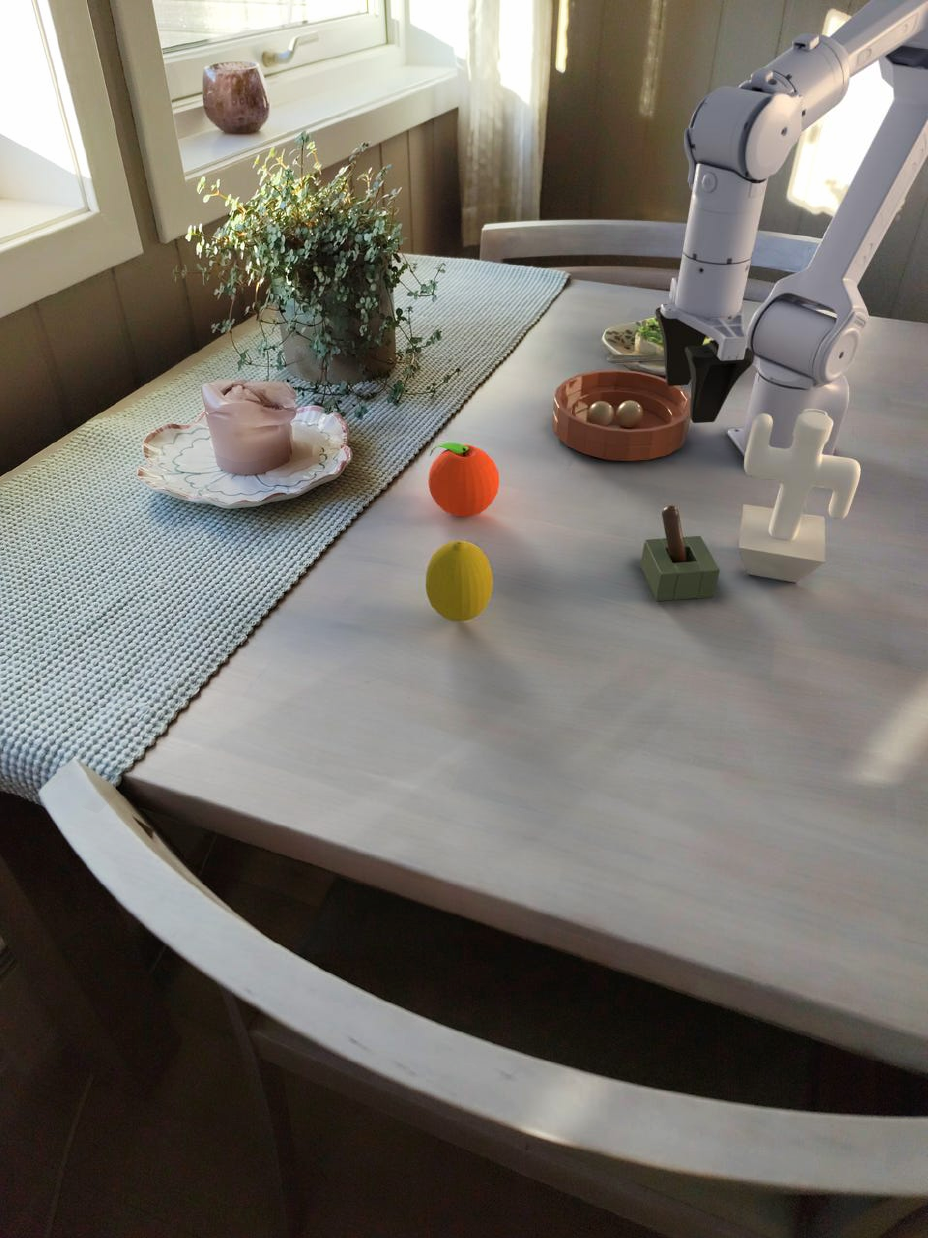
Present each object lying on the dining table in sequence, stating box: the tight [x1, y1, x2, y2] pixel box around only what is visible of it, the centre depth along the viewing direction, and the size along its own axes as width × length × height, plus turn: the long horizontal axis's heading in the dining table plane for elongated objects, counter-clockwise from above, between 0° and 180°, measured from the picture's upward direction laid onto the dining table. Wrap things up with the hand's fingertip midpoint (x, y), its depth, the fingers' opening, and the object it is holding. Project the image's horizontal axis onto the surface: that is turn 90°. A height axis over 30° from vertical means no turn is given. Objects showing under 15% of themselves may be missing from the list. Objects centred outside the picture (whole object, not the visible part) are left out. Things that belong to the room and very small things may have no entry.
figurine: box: [738, 409, 861, 584], centre depth 75 cm, size 7×9×15 cm
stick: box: [661, 504, 687, 563], centre depth 75 cm, size 1×1×8 cm
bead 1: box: [587, 401, 614, 427], centre depth 98 cm, size 3×3×3 cm
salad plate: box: [600, 316, 711, 377], centre depth 113 cm, size 19×18×5 cm
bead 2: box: [616, 401, 643, 428], centre depth 98 cm, size 3×3×3 cm
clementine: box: [427, 442, 500, 518], centre depth 85 cm, size 8×7×7 cm
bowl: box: [551, 369, 692, 462], centre depth 98 cm, size 15×15×4 cm
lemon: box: [425, 540, 494, 622], centre depth 71 cm, size 6×6×8 cm
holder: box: [640, 535, 721, 602], centre depth 77 cm, size 5×5×3 cm
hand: (689, 401), depth 82 cm, fingers open, 7 cm apart
